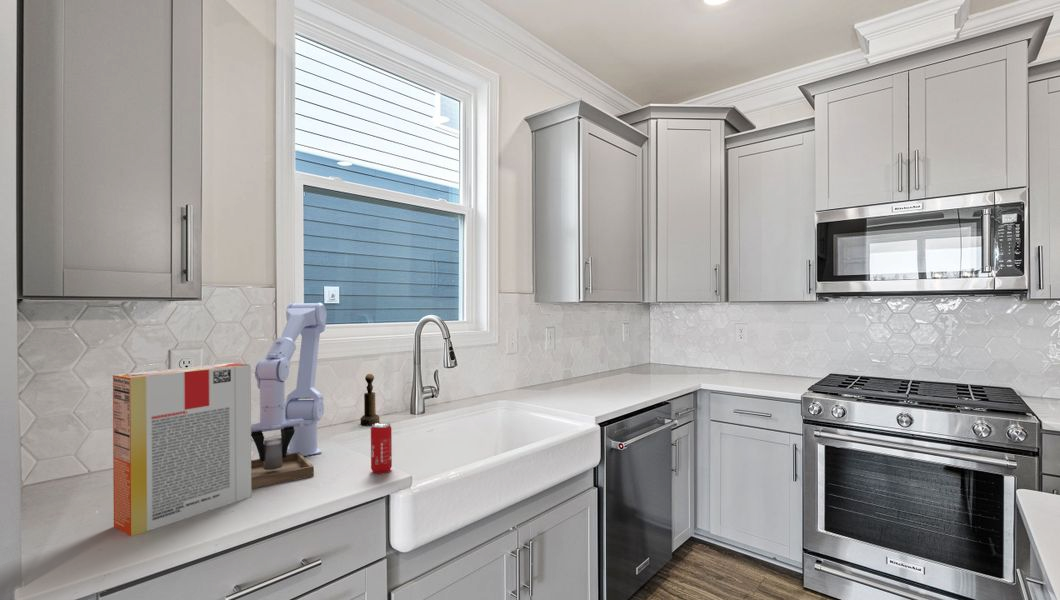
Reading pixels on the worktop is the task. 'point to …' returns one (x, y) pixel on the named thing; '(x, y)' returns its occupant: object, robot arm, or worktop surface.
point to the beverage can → (381, 448)
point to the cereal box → (180, 443)
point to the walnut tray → (281, 471)
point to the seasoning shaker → (273, 454)
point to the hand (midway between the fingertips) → (272, 458)
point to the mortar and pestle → (369, 404)
